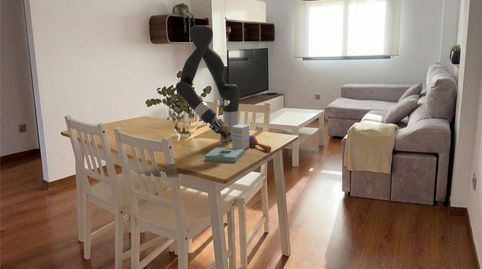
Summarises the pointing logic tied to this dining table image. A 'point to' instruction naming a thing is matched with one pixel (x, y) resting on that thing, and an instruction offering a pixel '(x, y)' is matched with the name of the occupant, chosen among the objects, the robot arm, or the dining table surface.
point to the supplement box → (240, 136)
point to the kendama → (254, 142)
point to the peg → (225, 129)
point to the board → (224, 154)
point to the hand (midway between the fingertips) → (228, 136)
